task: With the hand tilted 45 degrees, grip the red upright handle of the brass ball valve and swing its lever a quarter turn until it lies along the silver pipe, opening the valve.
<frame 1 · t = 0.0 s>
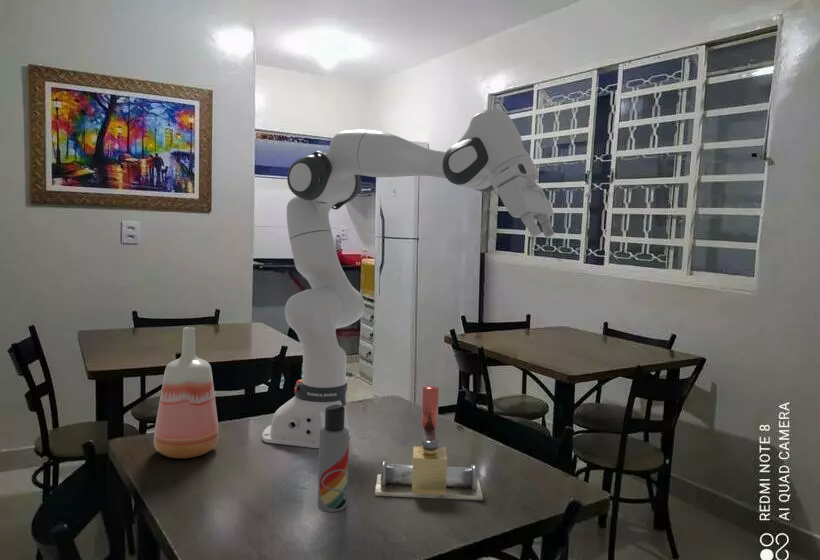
hand: (543, 235, 127), 54 cm above the table, tool tilted 30°, fingers open, 8 cm apart
lever: (430, 416, 132), point 14 cm above the table, hinge at 90.0°
pipe valve: (428, 488, 128), on the table
vase: (186, 452, 143), on the table
lotion bottle: (332, 506, 118), on the table
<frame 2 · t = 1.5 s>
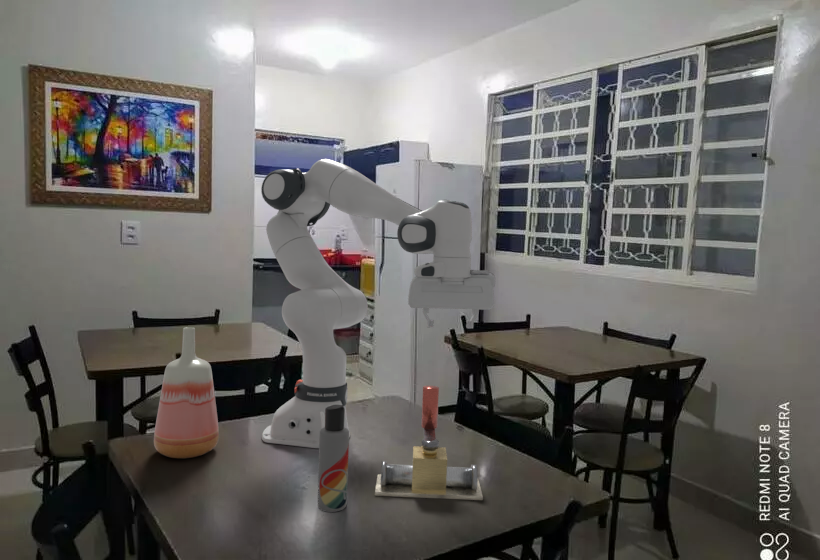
hand: (449, 327, 143), 32 cm above the table, tool pointing down, fingers open, 8 cm apart
nothing on the table moved.
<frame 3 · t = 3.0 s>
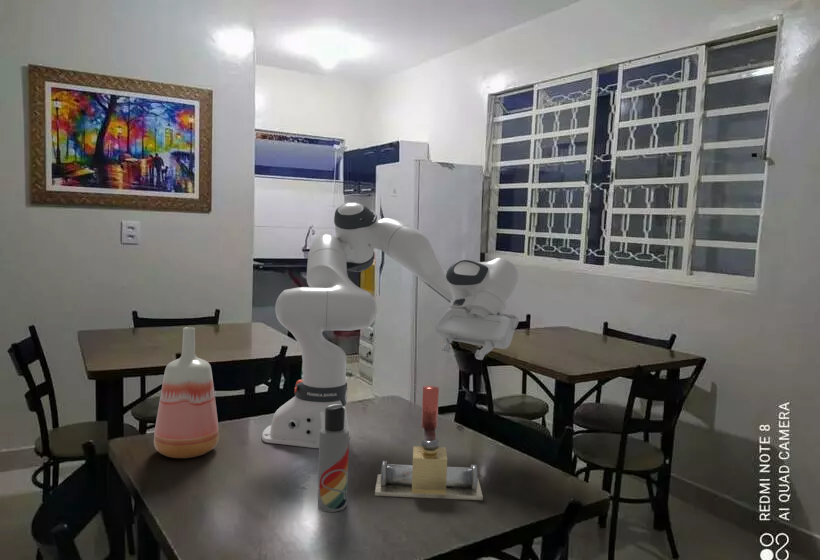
hand: (461, 355, 145), 25 cm above the table, tool tilted 45°, fingers open, 8 cm apart
nothing on the table moved.
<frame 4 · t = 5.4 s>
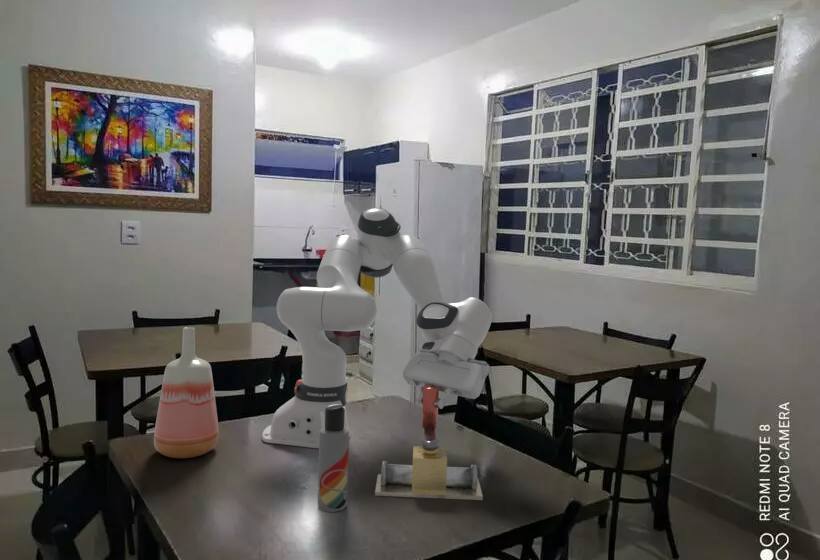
hand: (428, 404, 136), 15 cm above the table, tool tilted 45°, fingers closed on lever, 4 cm apart
lever: (430, 416, 132), point 14 cm above the table, hinge at 90.0°, touching gripper
everything else where it was.
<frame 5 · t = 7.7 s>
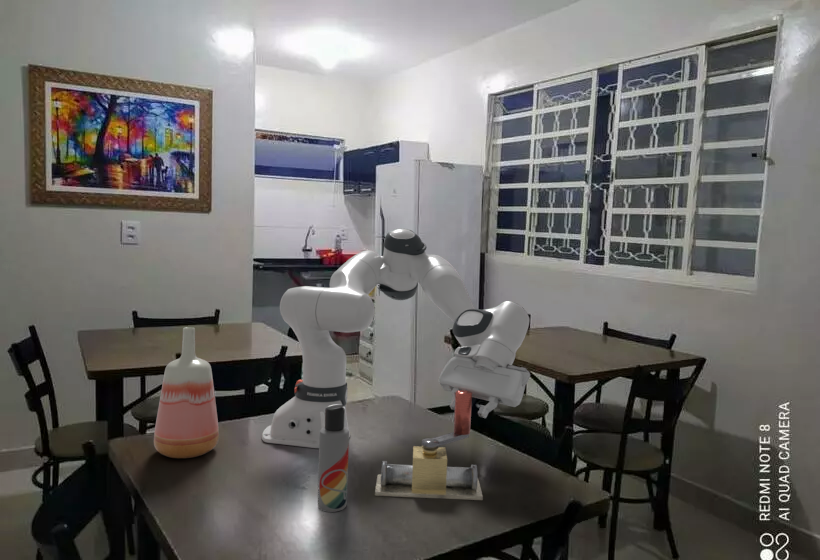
hand: (467, 412, 133), 15 cm above the table, tool tilted 45°, fingers open, 6 cm apart
lever: (447, 418, 130), point 14 cm above the table, hinge at 44.0°, touching gripper
everything else where it was.
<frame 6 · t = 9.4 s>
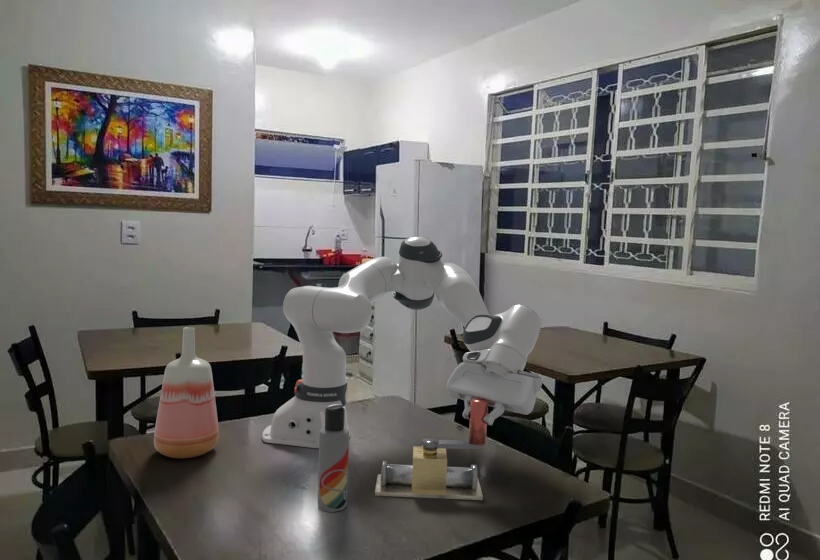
hand: (476, 420, 127), 15 cm above the table, tool tilted 45°, fingers closed on lever, 4 cm apart
lever: (454, 423, 127), point 14 cm above the table, hinge at 4.3°, touching gripper
everything else where it was.
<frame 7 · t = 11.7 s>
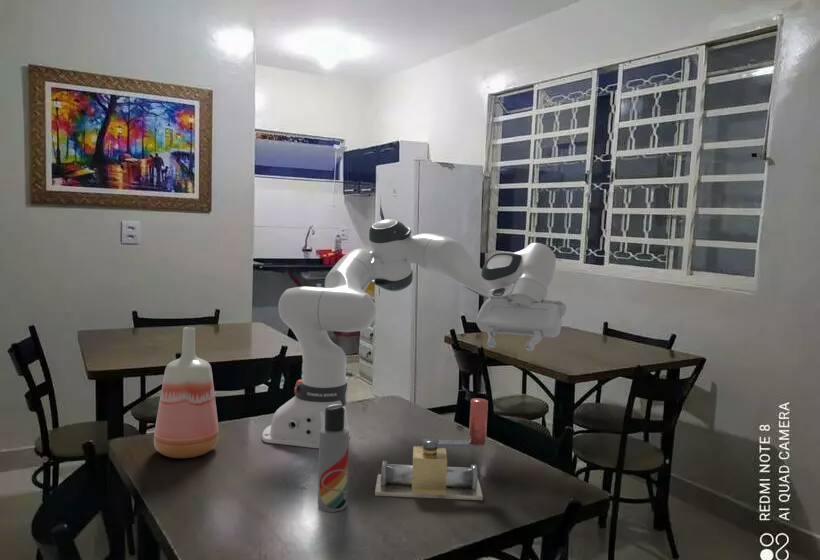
hand: (509, 347, 138), 29 cm above the table, tool tilted 40°, fingers open, 8 cm apart
lever: (454, 423, 127), point 14 cm above the table, hinge at 4.3°
everything else where it was.
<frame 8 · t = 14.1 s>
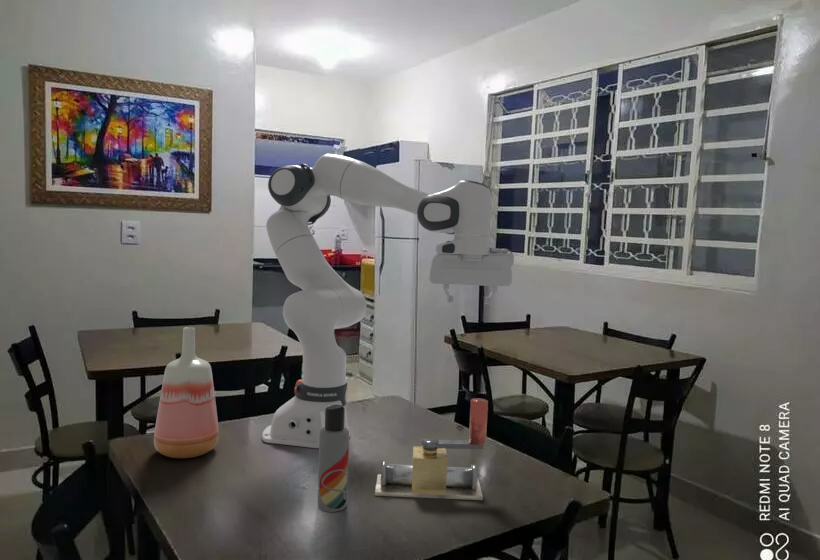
hand: (469, 303, 149), 37 cm above the table, tool pointing down, fingers open, 8 cm apart
nothing on the table moved.
at the end: lever at +4° (first picture: +90°); the gripper is holding nothing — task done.
